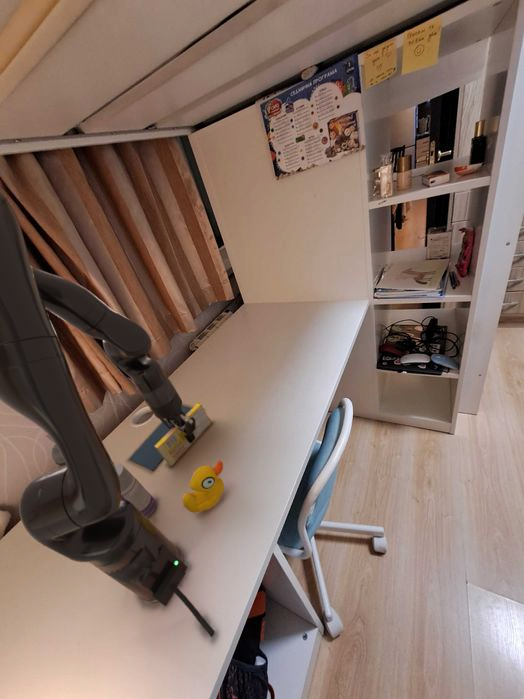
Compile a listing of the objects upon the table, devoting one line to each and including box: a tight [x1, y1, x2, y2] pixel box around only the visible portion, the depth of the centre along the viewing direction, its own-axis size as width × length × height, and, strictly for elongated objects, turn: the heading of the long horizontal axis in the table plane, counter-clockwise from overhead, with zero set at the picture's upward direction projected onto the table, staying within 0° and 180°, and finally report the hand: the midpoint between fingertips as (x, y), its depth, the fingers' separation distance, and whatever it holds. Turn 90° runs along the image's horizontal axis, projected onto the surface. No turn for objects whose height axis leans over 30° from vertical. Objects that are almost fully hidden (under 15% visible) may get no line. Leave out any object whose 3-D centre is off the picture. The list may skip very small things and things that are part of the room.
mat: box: [128, 405, 193, 472], centre depth 88 cm, size 11×22×1 cm, turn 150°
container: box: [114, 462, 157, 518], centre depth 66 cm, size 5×5×15 cm
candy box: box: [155, 402, 212, 467], centre depth 81 cm, size 16×2×8 cm, turn 143°
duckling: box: [182, 460, 225, 514], centre depth 64 cm, size 11×5×10 cm, turn 124°
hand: (188, 439), depth 82 cm, fingers closed on candy box, 2 cm apart
